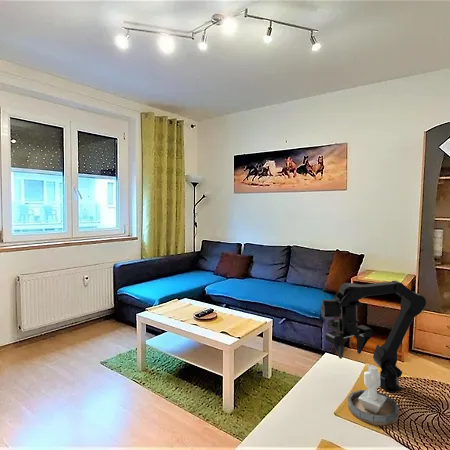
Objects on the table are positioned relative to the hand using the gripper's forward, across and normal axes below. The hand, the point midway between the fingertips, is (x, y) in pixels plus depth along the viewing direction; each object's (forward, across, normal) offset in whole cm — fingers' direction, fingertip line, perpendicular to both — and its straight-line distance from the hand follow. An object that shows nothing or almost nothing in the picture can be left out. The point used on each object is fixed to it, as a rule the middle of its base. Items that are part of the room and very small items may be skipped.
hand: (349, 355), depth 128 cm
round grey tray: (+13, +3, +14) cm, 19 cm away
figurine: (+12, +3, +14) cm, 19 cm away
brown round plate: (+13, +3, +14) cm, 19 cm away
